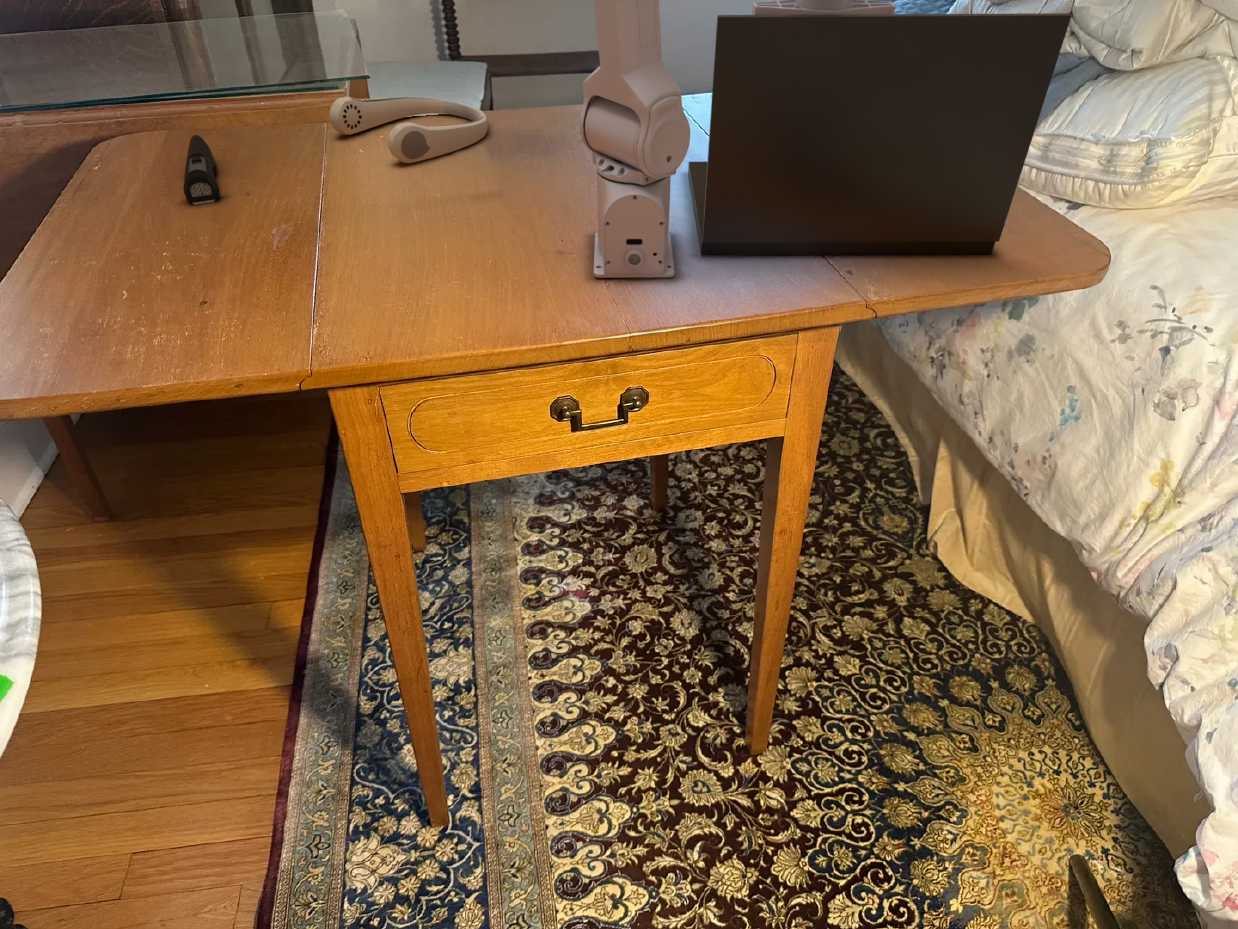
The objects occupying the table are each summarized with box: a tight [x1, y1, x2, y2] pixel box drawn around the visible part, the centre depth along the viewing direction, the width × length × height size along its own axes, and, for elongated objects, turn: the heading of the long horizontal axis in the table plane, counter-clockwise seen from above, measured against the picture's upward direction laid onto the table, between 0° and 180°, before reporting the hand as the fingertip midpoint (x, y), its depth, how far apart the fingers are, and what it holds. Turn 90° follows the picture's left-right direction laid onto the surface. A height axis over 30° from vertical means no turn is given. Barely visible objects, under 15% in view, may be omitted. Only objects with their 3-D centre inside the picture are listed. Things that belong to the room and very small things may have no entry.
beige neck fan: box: [329, 95, 489, 164], centre depth 114 cm, size 18×17×5 cm
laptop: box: [687, 161, 996, 257], centre depth 96 cm, size 21×30×2 cm
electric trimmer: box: [183, 134, 220, 206], centre depth 104 cm, size 4×16×3 cm, turn 21°
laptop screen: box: [702, 12, 1072, 243], centre depth 80 cm, size 21×30×1 cm
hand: (811, 95), depth 95 cm, fingers open, 7 cm apart
